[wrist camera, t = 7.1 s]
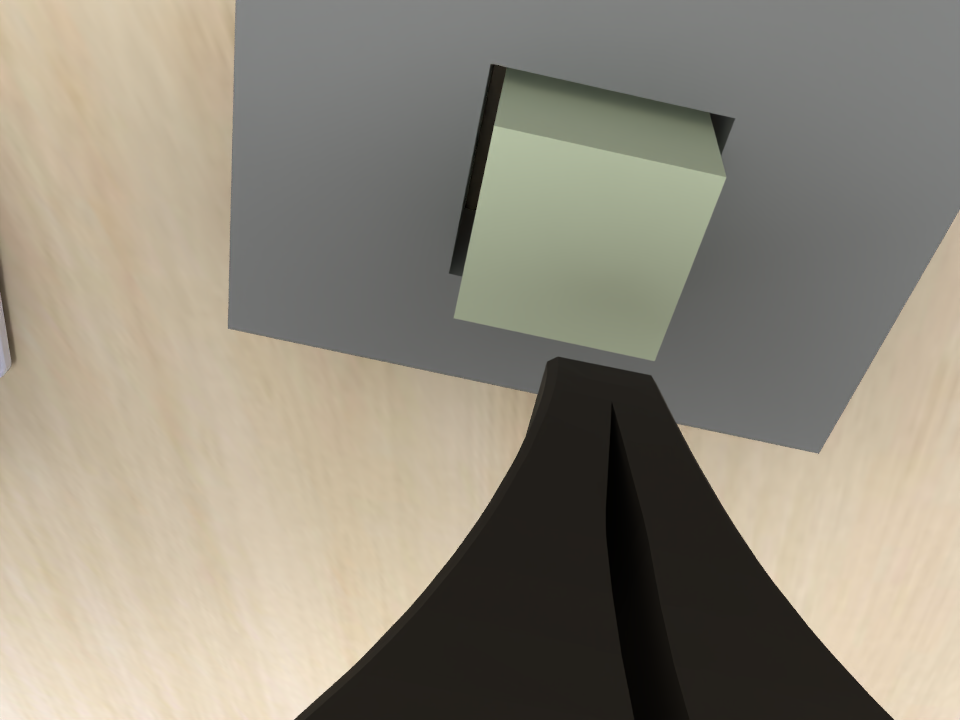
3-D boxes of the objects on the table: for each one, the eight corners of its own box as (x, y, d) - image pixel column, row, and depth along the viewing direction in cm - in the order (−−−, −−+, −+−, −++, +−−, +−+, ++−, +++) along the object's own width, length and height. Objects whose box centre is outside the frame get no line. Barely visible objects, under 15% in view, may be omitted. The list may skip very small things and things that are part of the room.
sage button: (647, 279, 20) (654, 361, 18) (469, 241, 20) (453, 318, 18) (708, 109, 18) (726, 177, 15) (507, 64, 18) (493, 125, 15)
